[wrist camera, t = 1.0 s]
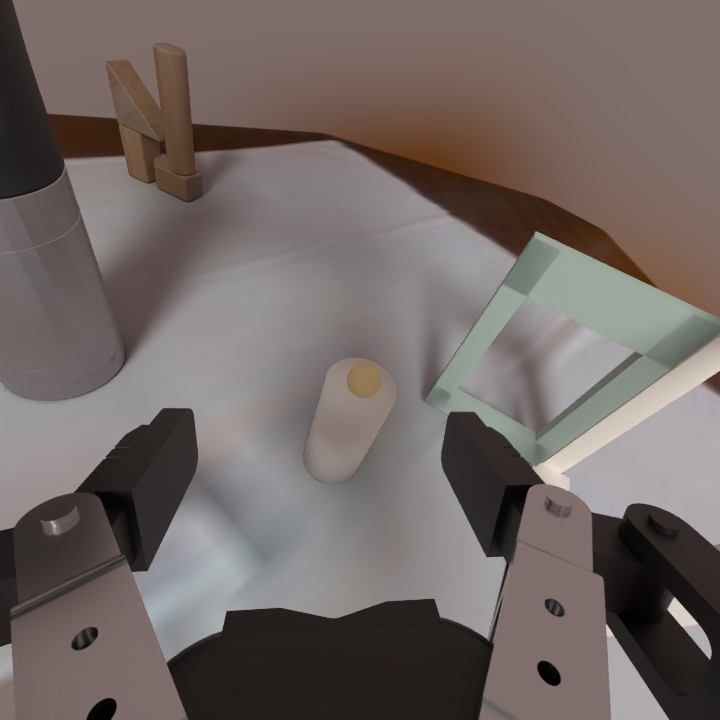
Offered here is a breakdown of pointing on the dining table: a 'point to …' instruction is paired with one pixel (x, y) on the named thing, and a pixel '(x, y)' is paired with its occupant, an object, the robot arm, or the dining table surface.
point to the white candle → (348, 418)
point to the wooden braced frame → (157, 123)
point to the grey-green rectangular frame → (592, 309)
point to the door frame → (633, 411)
